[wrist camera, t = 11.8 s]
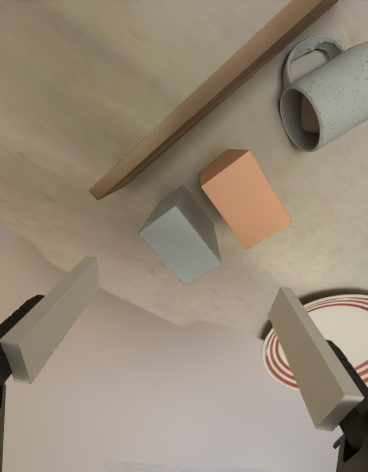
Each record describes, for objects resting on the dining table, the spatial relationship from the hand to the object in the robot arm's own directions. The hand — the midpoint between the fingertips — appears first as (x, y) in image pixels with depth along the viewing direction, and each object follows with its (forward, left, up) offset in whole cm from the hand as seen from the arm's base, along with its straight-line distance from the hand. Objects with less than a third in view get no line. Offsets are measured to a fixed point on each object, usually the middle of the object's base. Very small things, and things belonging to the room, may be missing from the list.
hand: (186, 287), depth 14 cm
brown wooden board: (-10, +10, -19) cm, 23 cm away
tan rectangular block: (0, +7, -19) cm, 20 cm away
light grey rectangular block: (0, -1, -19) cm, 19 cm away
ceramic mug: (-3, +20, -19) cm, 28 cm away
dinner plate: (+39, +6, -19) cm, 44 cm away
